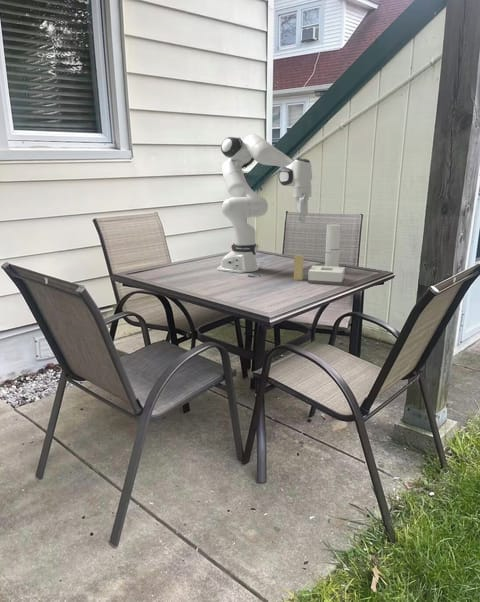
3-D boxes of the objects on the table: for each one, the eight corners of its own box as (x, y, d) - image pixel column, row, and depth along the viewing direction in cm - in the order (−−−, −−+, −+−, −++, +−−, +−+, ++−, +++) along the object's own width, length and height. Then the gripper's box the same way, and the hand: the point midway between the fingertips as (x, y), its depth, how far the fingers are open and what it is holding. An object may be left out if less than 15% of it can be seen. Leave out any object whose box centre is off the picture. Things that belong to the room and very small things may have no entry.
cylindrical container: (338, 273, 250) (340, 225, 243) (324, 273, 252) (326, 225, 244) (338, 270, 257) (340, 224, 250) (324, 270, 258) (326, 223, 251)
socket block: (308, 282, 232) (308, 270, 231) (312, 276, 244) (312, 265, 243) (341, 285, 228) (342, 272, 226) (344, 278, 240) (344, 267, 238)
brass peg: (293, 279, 239) (294, 256, 235) (295, 277, 242) (295, 254, 239) (301, 280, 238) (302, 256, 234) (303, 278, 241) (303, 255, 238)
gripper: (311, 194, 222) (310, 224, 226) (306, 192, 242) (306, 219, 245) (297, 194, 222) (297, 224, 226) (294, 192, 242) (293, 219, 246)
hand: (301, 221), depth 236 cm, fingers open, 8 cm apart
